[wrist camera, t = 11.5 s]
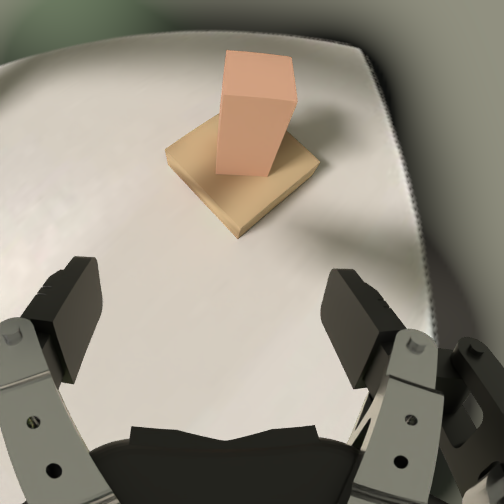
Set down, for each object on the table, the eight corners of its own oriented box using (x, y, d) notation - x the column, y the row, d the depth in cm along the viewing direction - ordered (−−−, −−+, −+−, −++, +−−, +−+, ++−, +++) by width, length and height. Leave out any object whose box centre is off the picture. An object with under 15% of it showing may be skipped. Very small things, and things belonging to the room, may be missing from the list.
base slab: (168, 167, 27) (164, 149, 24) (243, 116, 29) (246, 96, 26) (237, 240, 26) (240, 228, 23) (310, 178, 28) (320, 162, 25)
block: (215, 174, 24) (223, 94, 15) (217, 132, 25) (226, 50, 16) (267, 176, 24) (297, 101, 16) (265, 135, 25) (291, 57, 17)
